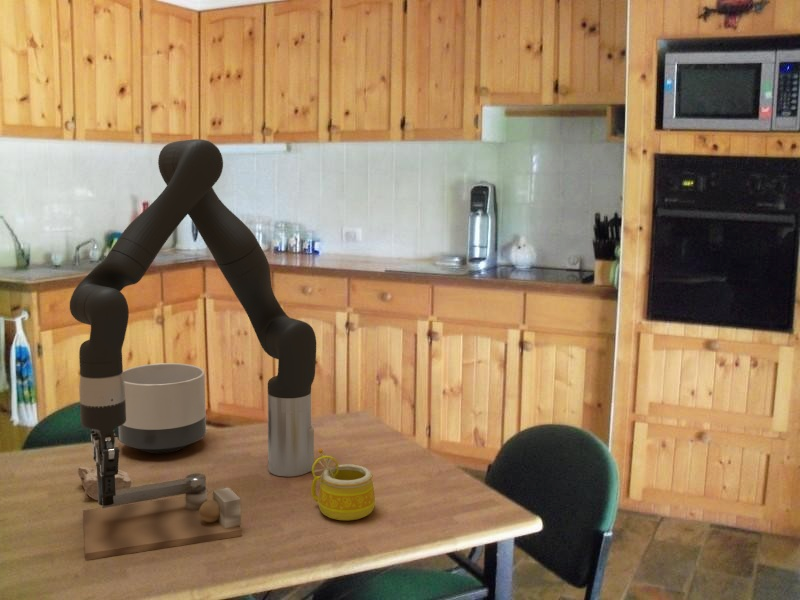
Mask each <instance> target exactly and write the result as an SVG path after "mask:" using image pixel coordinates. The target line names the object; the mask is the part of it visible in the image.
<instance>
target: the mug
mask: <svg viewBox="0 0 800 600" xmlns="http://www.w3.org/2000/svg"><path fill="white" fill-rule="evenodd" d="M323 452H324V451H323V448H318V453H320V454H321V456H320V457H318V458H316V459H315V460H314V464H313V466H312V471H311V473H312V477H314V478H313V480H312V484H311V487H310V489H311V496H312V498H313V500H315V502H318V507H319V509H320V512H321V513H322V514H323V515H324V516H326V517H328V518H329V519H332V520H339V521H348V522H349V521H355V520H361V519H362V518H365V517H367V516H369V515H370V514H371V513H372V512H373V510H374V508H375V503H376V496H375V487H374V483H373V473H372V471H370V469H369V468H366V467H365V466H361V465H357V464H352V463H351V464H350V463H349V464H346V463H345V464H339V463H338V461H337V460H336V459H335V458H334V457H333V456H330V455H324V453H323ZM322 459H323V460H324V463H325V466H324V464H323V463H322V461H321V460H322ZM327 459H328V460H327ZM331 461H334V462H335V465H333V466H329V465H330V463H331ZM317 463H319V464H320V465H321V466H322V468H315V467H316V464H317ZM321 471H322V472H321ZM317 472H321V475H319V476H318V475H317V476H316V475H315V473H317ZM318 482H320V484H319V485H320V487H319V492H318V496H317V493H316V485H317V483H318Z"/></svg>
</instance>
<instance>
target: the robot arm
mask: <svg viewBox="0 0 800 600" xmlns="http://www.w3.org/2000/svg"><path fill="white" fill-rule="evenodd" d="M223 159H224V158H223V155H222V153H221V151H220V149H219V148H218V146H217V145H215V144H214V143H213V142H211V141H210V140H206V139H198V138H197V139H196V138H195V139H186V140H179V141H178V140H177V141H173V142H170V143H168V144H165V146H163V147H162V148H161V151H160V153H159V154H158V158H157V160H158V162H157V164H158V170H159V174H160V176H161V178H162V180H163V181H164V184H165V185H166V186H165V188H164V189H163V190H162V192H161V193H160V195H158V196H157V198H156V199H155V200H154V201H153V202H152V203H151V204H150V205H148V206H147V207H146V208H145V209H144V210H143V211H142V212H140V214H139V215H138V216H136V218H134V219H133V220H132V221H131V222H130V223H129V224H128V225H127V226H126V228H125V229H124V230H123V231H122V233H121V235H120V236H119V237H118V239H117V240H116V242H114V245H113V247H111V249H110V250H109V252H108V253H107V256H106V257H105V258H104V259H103V260H102V261H101V262H100V263H99V264H97V266H96V267H94V268H93V269H92V270H91V271H90V272H89V273H87V275H86V276H85V277H84V278H83V279H82V280H81V281H79V283H78V285H76V287H75V289H74V291H73V292H72V294H71V297H70V301H69V311H70V314H71V316H72V317H73V318H74V319H75V320H76V321H78V323H81V324H85V325H89V326H90V334H89V339H87V340H85V341H83V342H82V343H81V345H80V346H79V352H78V354H79V355H78V357H79V384H78V385H79V386H78V388H79V393H78V394H79V412H80V424H81V426H82V428H84V429H87V430H90V440H91V443H92V455H93V460H94V462H95V465H94V466H95V467H96V468H97V465H96V461H97V463H99V464H100V475H101V488H102V495H103V496H110V495H114V494H115V475H117V474H118V470H119V458H120V449H119V447H118V445H119V435H118V434H116V431H115V429H116V428H119V427H118V426H121V425H123V424H124V423H125V422H126V402H125V383H124V377H123V371H124V367H123V350H122V349H123V346H124V342H125V338H126V334H127V328H128V323H129V313H130V312H129V311H130V310H129V305H128V302H127V299H126V296H125V295H124V294H123V292H121V291H122V290H124V289H125V288H126V287H129V286H132V285H133V286H134V285H136V284H138V283H140V282H141V280H142V279H143V278H144V276H145V274H146V273H147V271H148V269H149V268H150V266H151V265H152V263H153V262H154V260H155V259H156V257H157V255H159V253H160V251H161V250H162V248H163V247H164V245H165V244H166V242H167V241H168V239H169V238H170V236H171V235H172V234H173V232H175V230H176V229H178V228H177V227H178V226H179V225H180V224H181V223H182V221H183V220H184V219H185V218H186V217H187V215H188V216H189V218H190V219H191V221H192V223H193V224H194V226H195V229H197V231H198V233H199V235H200V236H201V238H202V240H203V242H204V243H205V245H206V247H207V248H208V251H209V252H210V253H211V255H212V257H213V259H214V261H215V263H216V265H217V266H218V268H219V270H220V271H221V274H222V275H223V277H224V279H225V280H226V281H227V283H228V285H229V286H230V288H231V290H232V291H233V293H234V295H235V296H236V298H237V300H238V301H239V303H240V304H241V306H242V308H243V310H244V311H245V313H246V316H247V317H248V319H249V322H250V323H251V326H252V328H253V331H254V333H255V334H256V337H257V340H258V342H259V344H260V346H261V348H262V350H264V352H265V353H266V354H267V355H268V356H270V357H271V358H273V359H275V360H278V362H277V363H278V365H277V375H276V376H273V377H272V376H271V377H270V378H269V379H268V381H267V450H268V451H267V455H268V456H267V457H268V459H267V464H268V465H267V466H268V467H267V468H268V472H269V473H270V474H272V475H274V476H279V477H289V478H290V477H298V476H302V475H305V474H307V473H309V472H312V466H313V464H314V462H315V429H314V427H313V426H312V385H313V382H314V380H315V377H316V360H317V337H316V332H315V330H314V328H313V327H312V325H310V324H309V323H308V322H306V321H303V320H299V319H297V318H292V317H290V316H289V315H287V313H286V312H285V310H284V309H283V307H281V304H280V302H279V301H278V299H277V297H276V295H275V293H274V290H273V287H272V278H271V275H272V274H271V268H270V264H269V261H268V257H267V255H266V254H265V252H264V250H263V248H262V247H261V244H260V243H259V241H258V239H257V237H256V235H255V234H254V233H253V232H252V231H251V229H250V228H249V227H248V226H247V224H245V222H243V221H242V220H241V219H240V218H239V217H238V216H237V215H236V214H234V213H233V212H232V210H230V209H229V208H228V207H227V206H226V205H225V203H224V202H223V201H222V200H221V199H220V197H218V195H217V194H216V192H215V190H214V188H213V187H214V186H215V184H216V183H217V182H218V180H219V179H220V177H221V175H222V172H223V167H224V160H223ZM101 457H103V458H101ZM111 466H112V468H110V469H106V468H107V467H111Z"/></svg>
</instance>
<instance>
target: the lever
mask: <svg viewBox="0 0 800 600" xmlns="http://www.w3.org/2000/svg"><path fill="white" fill-rule="evenodd" d="M101 458H103V457H101ZM95 464H96V465H97V487H98V500H97V503H98V505H99V506H101V508H107V507H113V506H119V505H126V504H134V503H141V502H148V501H153V500H159V499H165V498H169V497H173V496H180V495H185V494H186V493H199V492H203V491H205V490H207V481H206V480H207V478H206V477H207V476H206V474H203V473H191V474H188V475H187V476H186V477H185V478H180V479H179V478H178V479H175V480H166V481H162V482H157V483H150V484H144V485H139V486H132V487H131V486H130V487H129V488H126V489H120V490H116V489H115V494H114V495H110V496H103V495H102V488H101V475H100V464H99V463H97V461H96V462H95ZM110 468H112V466H111V467H107V468H106V469H110Z"/></svg>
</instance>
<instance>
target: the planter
mask: <svg viewBox="0 0 800 600" xmlns="http://www.w3.org/2000/svg"><path fill="white" fill-rule="evenodd" d="M123 377H124V383H125V402H126V422H125V423H124V424H123V425H121V426H118V427H117V428H118V441H119V442H120V443H121V444H122V445H124V446H127V447H130V448H134V449H137V450H139V451H141V452H145V453H148V454H149V453H150V454H158V455H159V454H161V455H162V454H170V453H174V452H177V451H179V450H182V449H184V448H186V447H188V446H191V444H193V443H196V442H198V441H200V440H202V439H203V438H204V437H205V436H206V434H207V419H206V418H207V417H206V416H207V415H206V410H207V409H206V372H205V370H204V369H203V368H202V367H199V366H197V365H193V364H186V363H177V362H175V363H174V362H173V363H172V362H171V363H170V362H169V363H168V362H166V363H165V362H163V363H152V364H151V363H150V364H143V365H138V366H132V367H130V368H126V369H123Z"/></svg>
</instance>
